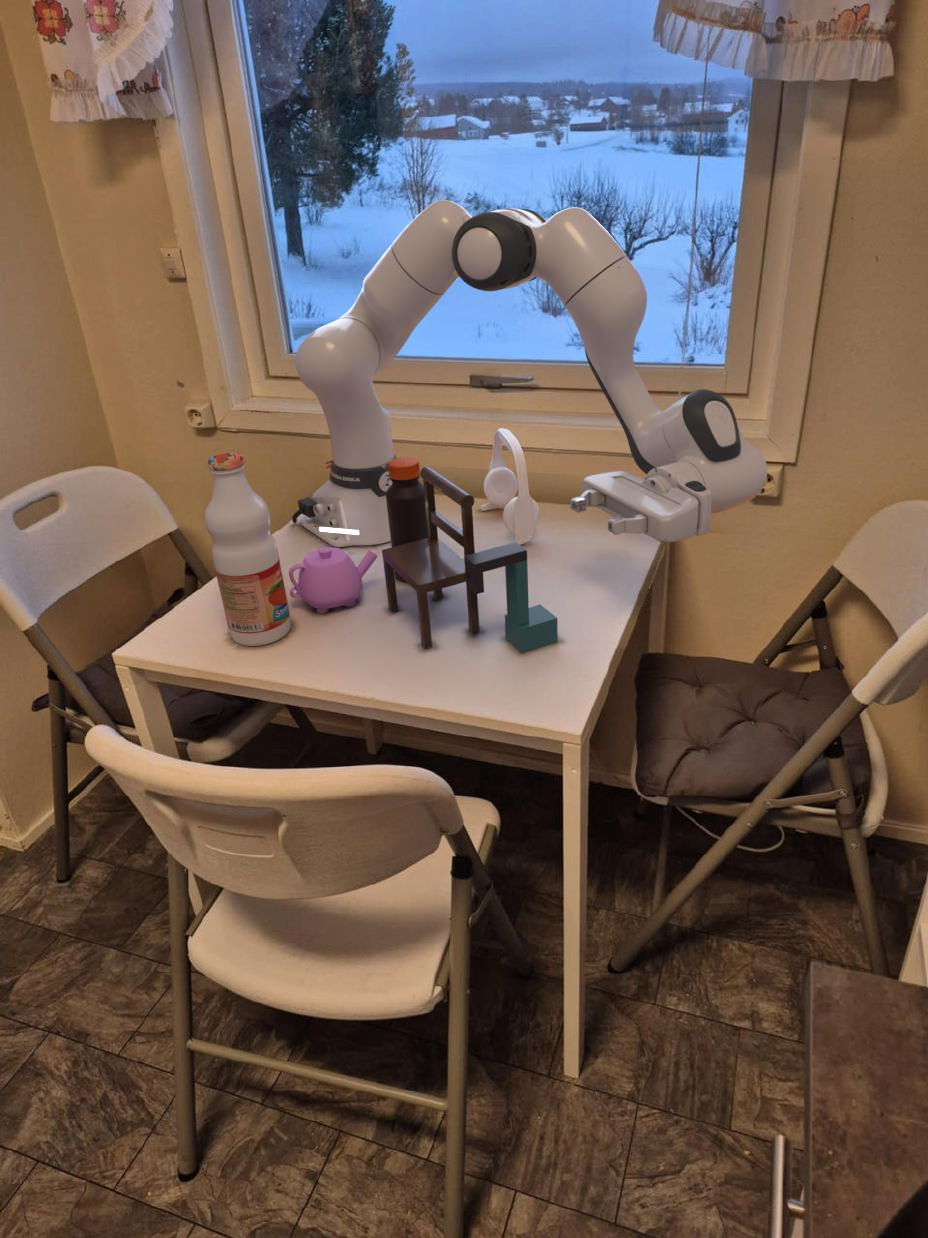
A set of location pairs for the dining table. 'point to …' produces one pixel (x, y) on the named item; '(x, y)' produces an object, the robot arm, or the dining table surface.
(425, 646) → the chair
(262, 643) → the fruit juice
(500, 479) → the headset
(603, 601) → the dining table surface
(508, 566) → the block
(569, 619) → the dining table surface
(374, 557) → the teapot
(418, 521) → the bottle
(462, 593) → the dining table surface
